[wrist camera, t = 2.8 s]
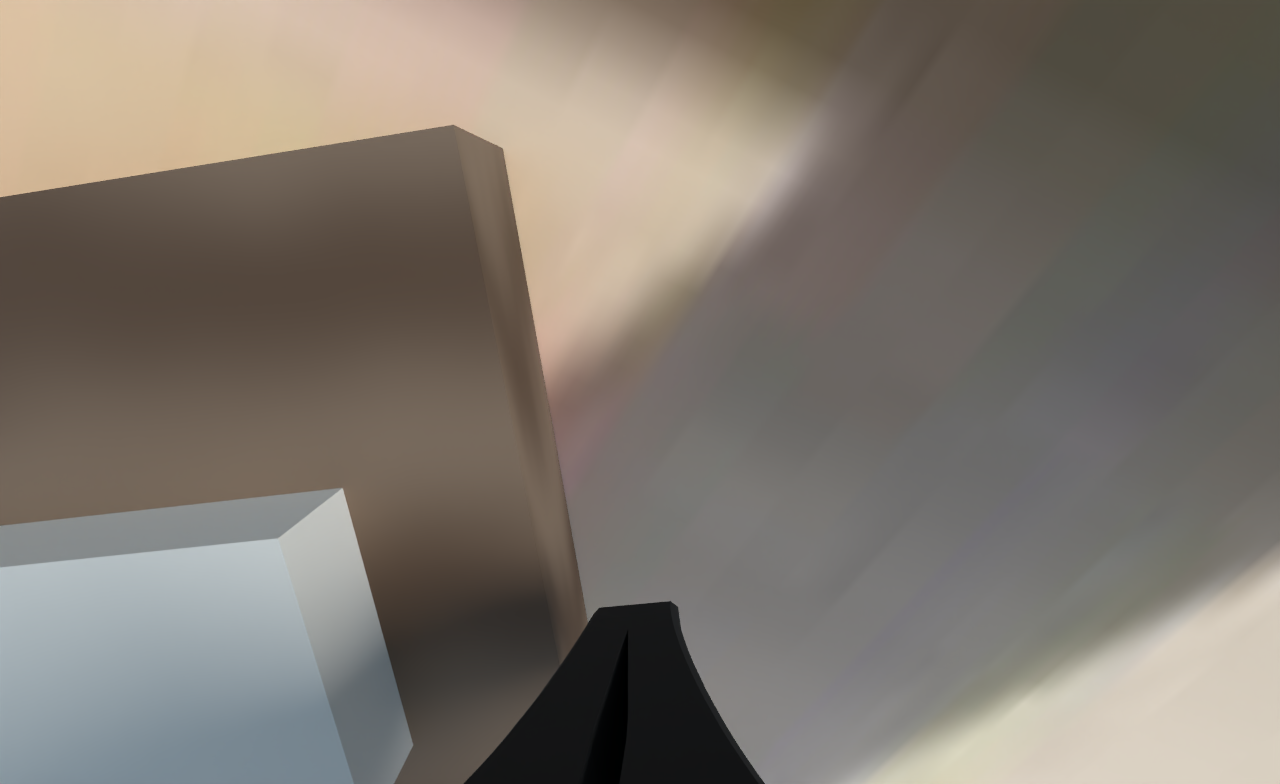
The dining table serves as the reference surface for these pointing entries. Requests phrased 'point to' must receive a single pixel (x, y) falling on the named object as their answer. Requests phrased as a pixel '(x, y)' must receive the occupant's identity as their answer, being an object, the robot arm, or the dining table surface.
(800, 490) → the dining table surface
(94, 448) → the deck
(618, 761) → the robot arm
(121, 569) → the pale grey flat block
